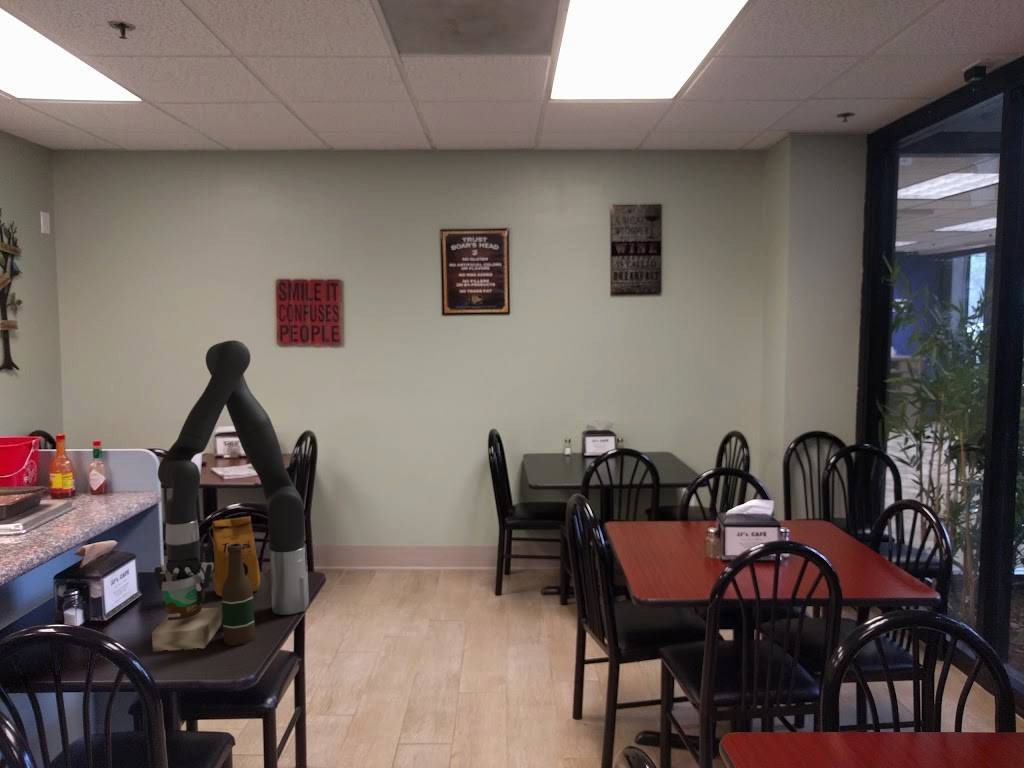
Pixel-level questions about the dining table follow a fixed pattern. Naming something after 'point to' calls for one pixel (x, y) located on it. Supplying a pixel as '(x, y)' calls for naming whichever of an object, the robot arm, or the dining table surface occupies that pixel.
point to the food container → (182, 597)
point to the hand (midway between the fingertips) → (187, 604)
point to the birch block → (187, 631)
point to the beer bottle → (237, 601)
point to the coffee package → (223, 537)
